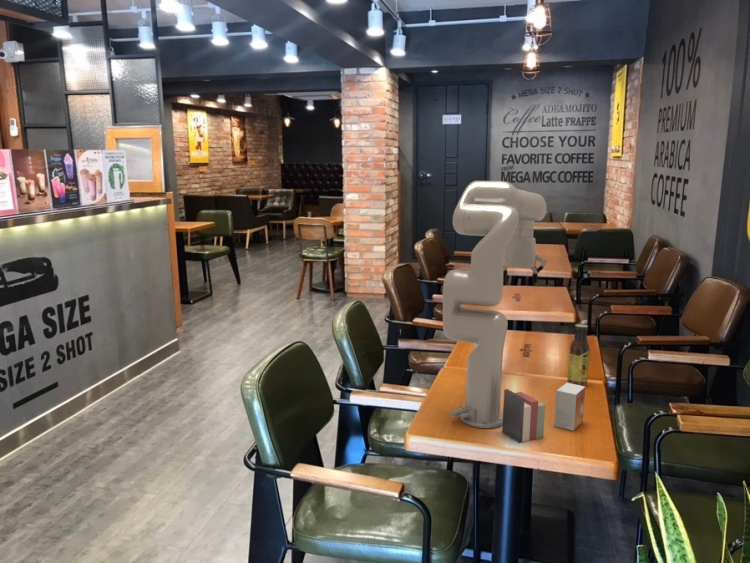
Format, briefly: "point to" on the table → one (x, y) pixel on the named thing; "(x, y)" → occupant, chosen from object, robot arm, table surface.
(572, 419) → the small box
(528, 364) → the table surface
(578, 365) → the sauce bottle
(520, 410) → the book row
